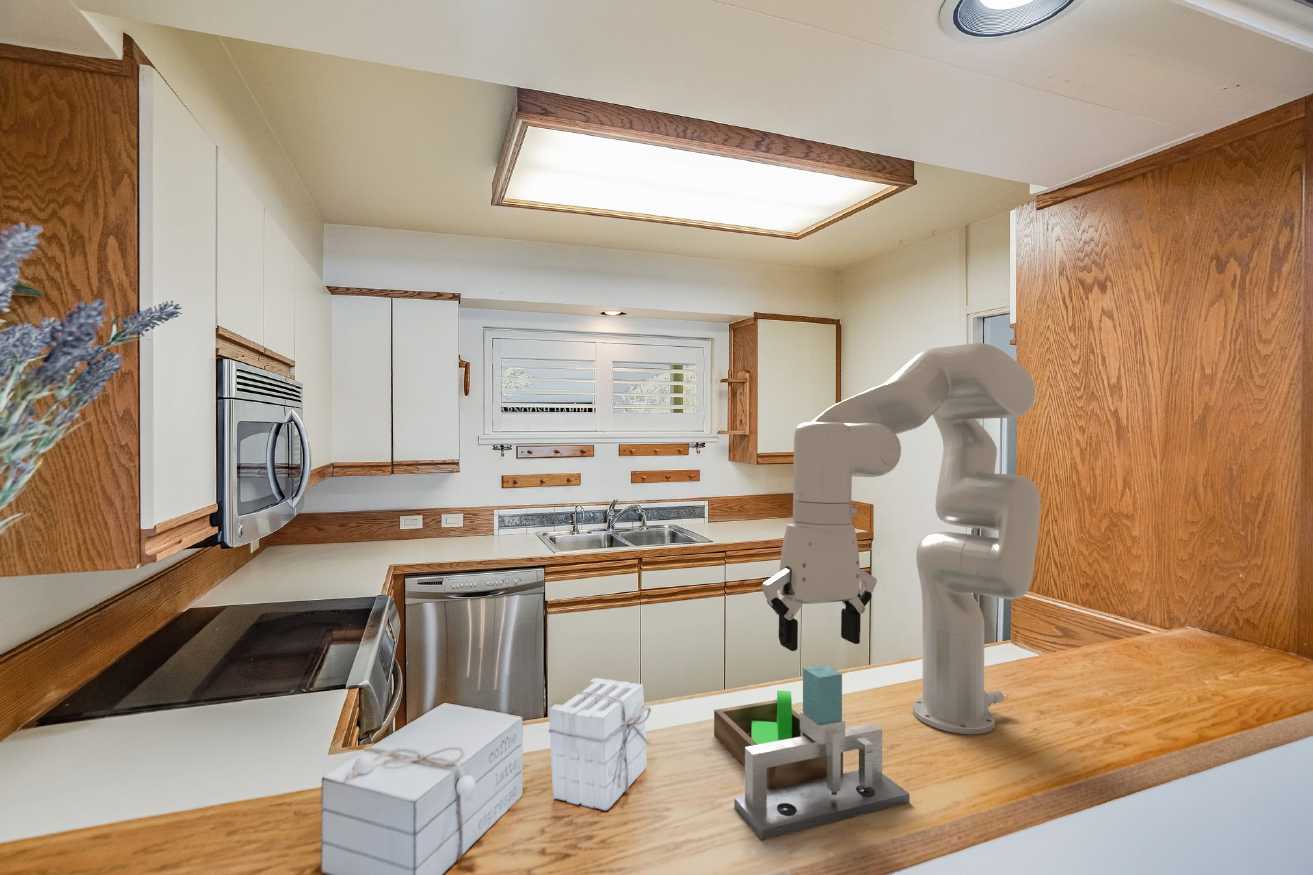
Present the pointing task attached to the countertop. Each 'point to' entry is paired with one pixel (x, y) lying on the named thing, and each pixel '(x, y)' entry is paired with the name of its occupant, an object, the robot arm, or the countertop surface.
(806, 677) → the sliding leg
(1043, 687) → the countertop surface
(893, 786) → the bolt plate
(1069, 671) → the countertop surface
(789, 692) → the mechanical part
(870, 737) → the metal bridge frame
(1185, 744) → the countertop surface
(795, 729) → the parts tray
